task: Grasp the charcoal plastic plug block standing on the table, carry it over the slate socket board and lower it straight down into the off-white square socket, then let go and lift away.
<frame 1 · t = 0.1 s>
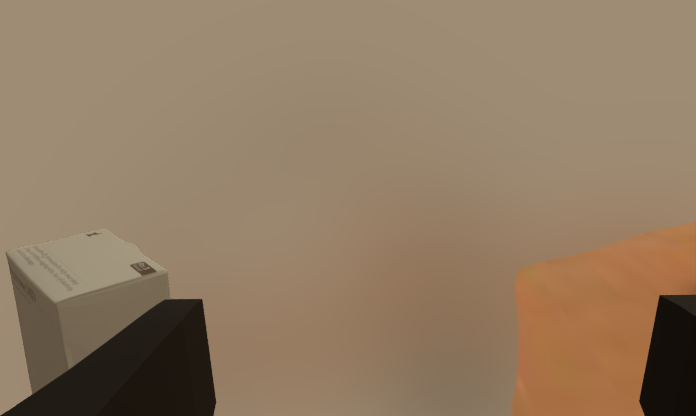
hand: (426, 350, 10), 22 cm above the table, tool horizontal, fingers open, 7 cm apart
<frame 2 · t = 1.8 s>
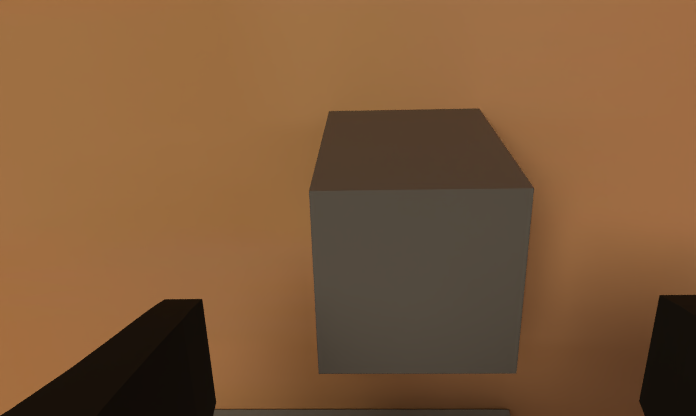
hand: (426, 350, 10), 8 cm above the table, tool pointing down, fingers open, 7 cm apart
plug: (403, 180, 17), on the table
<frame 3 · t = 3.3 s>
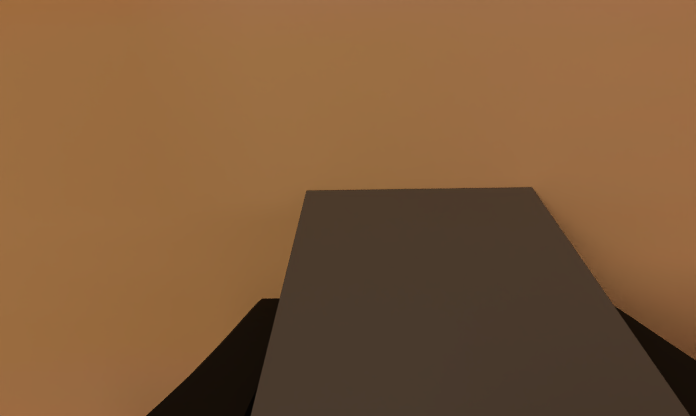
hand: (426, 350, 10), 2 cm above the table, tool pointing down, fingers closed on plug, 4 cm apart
plug: (416, 287, 12), on the table, touching gripper
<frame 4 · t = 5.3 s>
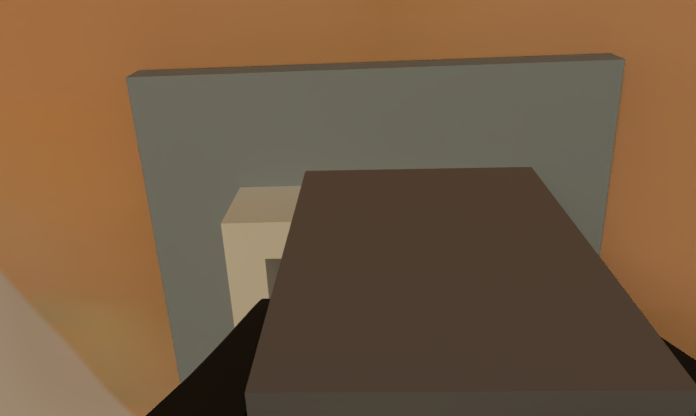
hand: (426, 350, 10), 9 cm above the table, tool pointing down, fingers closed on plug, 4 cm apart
socket: (376, 284, 20), on the table
plug: (416, 268, 12), point 7 cm above the table, touching gripper
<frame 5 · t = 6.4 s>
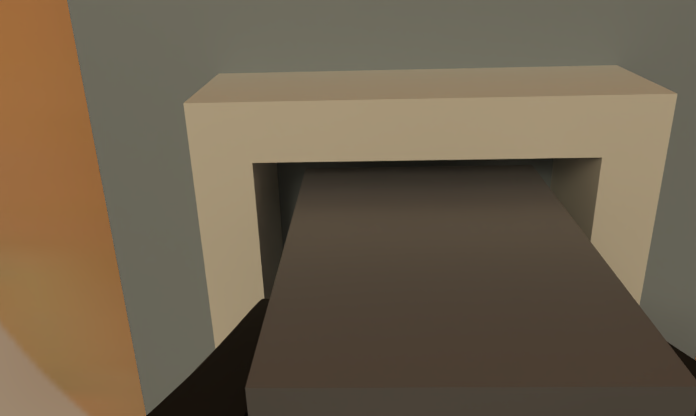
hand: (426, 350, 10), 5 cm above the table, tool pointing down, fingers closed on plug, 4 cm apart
socket: (409, 228, 14), on the table
plug: (416, 266, 12), point 3 cm above the table, touching gripper
when the fingers open (4 cm above the table, at t = 7.4 s): plug stays where it is, resting on socket.
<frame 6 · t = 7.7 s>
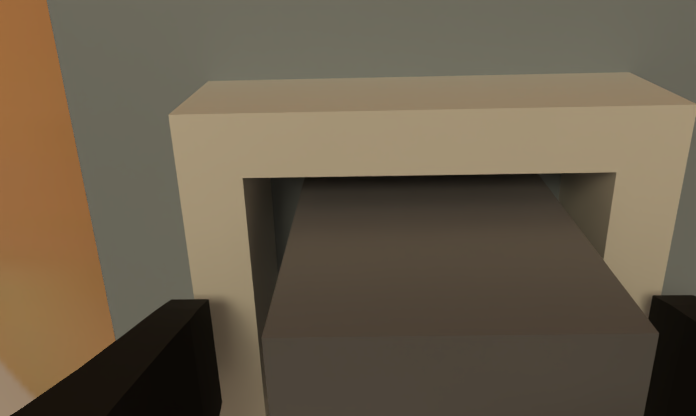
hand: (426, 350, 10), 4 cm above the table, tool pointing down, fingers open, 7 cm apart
socket: (410, 241, 14), on the table
plug: (414, 248, 13), point 1 cm above the table, touching socket
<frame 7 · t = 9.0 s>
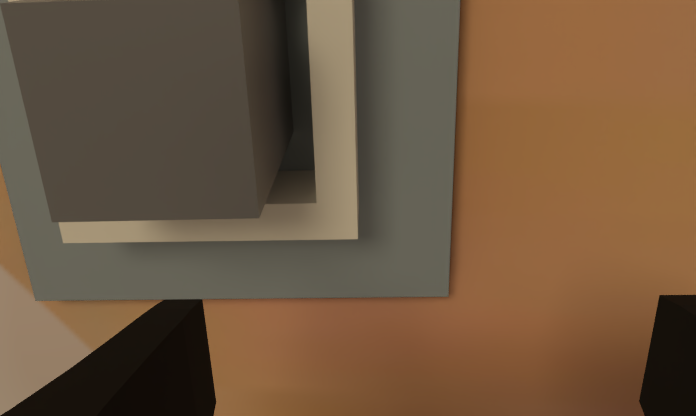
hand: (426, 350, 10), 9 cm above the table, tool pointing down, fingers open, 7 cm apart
socket: (222, 66, 18), on the table
plug: (213, 61, 17), point 1 cm above the table, touching socket
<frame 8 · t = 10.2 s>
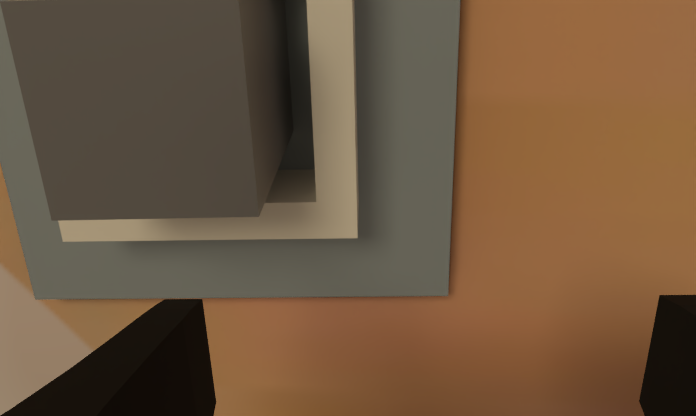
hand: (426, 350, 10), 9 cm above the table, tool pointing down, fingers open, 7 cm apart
socket: (222, 65, 18), on the table
plug: (213, 59, 17), point 1 cm above the table, touching socket
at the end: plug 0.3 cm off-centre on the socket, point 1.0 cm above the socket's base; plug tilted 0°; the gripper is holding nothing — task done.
